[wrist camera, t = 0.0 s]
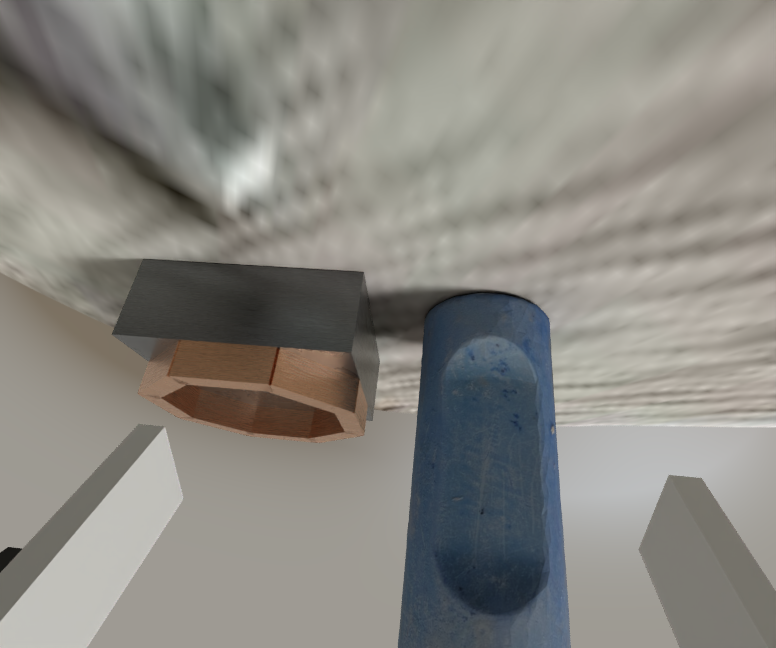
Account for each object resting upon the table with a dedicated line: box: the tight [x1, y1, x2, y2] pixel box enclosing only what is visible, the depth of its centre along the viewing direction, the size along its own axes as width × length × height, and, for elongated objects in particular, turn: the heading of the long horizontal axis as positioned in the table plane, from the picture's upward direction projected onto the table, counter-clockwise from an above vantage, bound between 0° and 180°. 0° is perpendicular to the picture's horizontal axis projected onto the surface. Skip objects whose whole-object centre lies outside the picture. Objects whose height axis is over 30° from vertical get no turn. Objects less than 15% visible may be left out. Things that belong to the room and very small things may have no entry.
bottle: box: [398, 293, 571, 648], centre depth 29 cm, size 10×10×30 cm
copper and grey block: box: [112, 259, 380, 443], centre depth 37 cm, size 16×16×8 cm
